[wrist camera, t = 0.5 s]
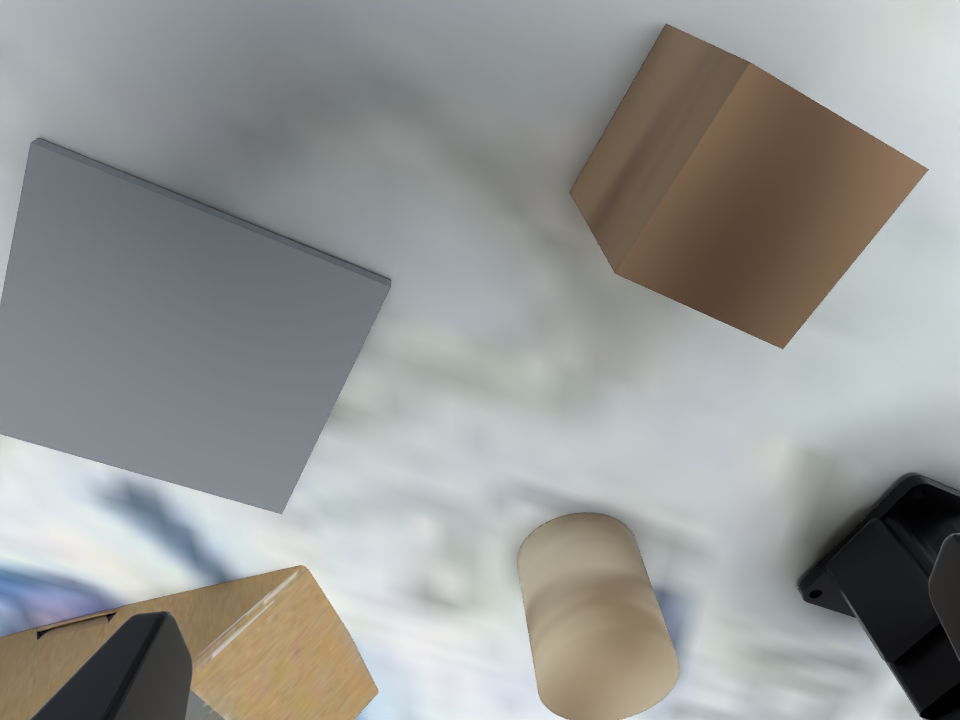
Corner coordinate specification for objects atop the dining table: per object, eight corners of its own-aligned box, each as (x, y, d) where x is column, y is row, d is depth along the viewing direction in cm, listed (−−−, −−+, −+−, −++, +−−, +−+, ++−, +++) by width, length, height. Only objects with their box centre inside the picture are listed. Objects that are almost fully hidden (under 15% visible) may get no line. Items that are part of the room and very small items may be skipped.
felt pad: (391, 280, 20) (390, 286, 19) (283, 505, 24) (281, 514, 23) (37, 138, 17) (31, 142, 17) (-17, 418, 21) (-23, 427, 21)
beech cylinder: (659, 532, 26) (708, 653, 22) (596, 608, 28) (629, 733, 24) (555, 498, 25) (585, 619, 20) (496, 580, 27) (512, 707, 22)
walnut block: (808, 108, 18) (928, 169, 14) (705, 257, 20) (782, 349, 16) (665, 23, 17) (750, 62, 13) (568, 191, 19) (615, 273, 15)
